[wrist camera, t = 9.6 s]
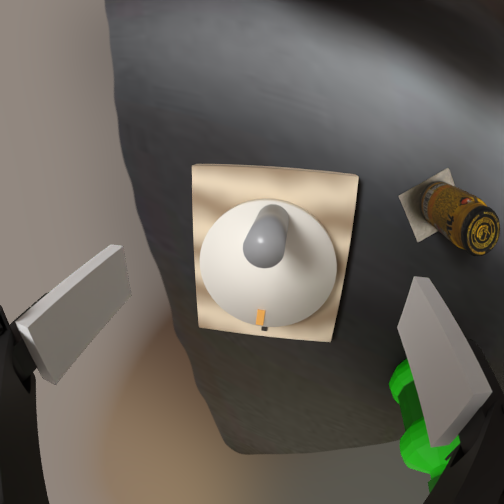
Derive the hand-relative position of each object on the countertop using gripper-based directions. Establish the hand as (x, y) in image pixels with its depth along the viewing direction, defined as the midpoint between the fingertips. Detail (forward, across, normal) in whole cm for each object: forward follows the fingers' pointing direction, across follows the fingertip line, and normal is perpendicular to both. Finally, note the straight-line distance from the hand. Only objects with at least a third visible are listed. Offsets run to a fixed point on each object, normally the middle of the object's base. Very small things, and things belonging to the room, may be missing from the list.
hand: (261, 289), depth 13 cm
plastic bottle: (+26, +25, -29) cm, 46 cm away
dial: (+23, -2, -11) cm, 26 cm away
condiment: (+26, +20, -1) cm, 33 cm away
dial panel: (+26, -2, -11) cm, 28 cm away
